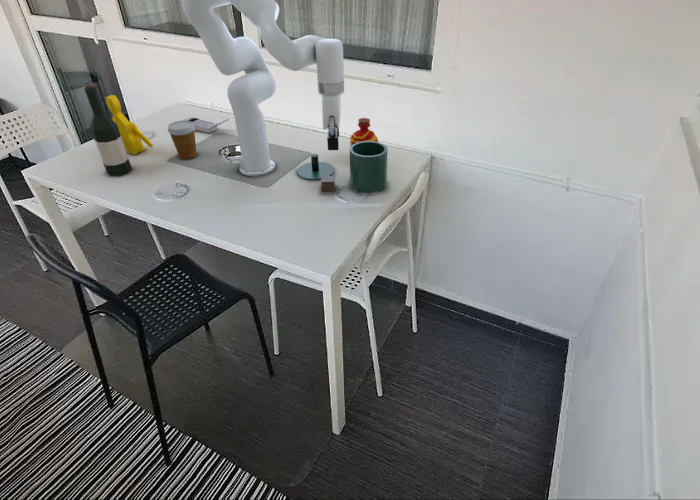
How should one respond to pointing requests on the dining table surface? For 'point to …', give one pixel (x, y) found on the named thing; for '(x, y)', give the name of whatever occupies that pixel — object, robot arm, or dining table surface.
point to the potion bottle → (363, 132)
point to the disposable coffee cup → (183, 138)
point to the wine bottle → (107, 137)
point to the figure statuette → (126, 128)
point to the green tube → (368, 166)
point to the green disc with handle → (315, 169)
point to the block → (328, 183)
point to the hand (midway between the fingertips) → (333, 143)
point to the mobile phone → (204, 124)
